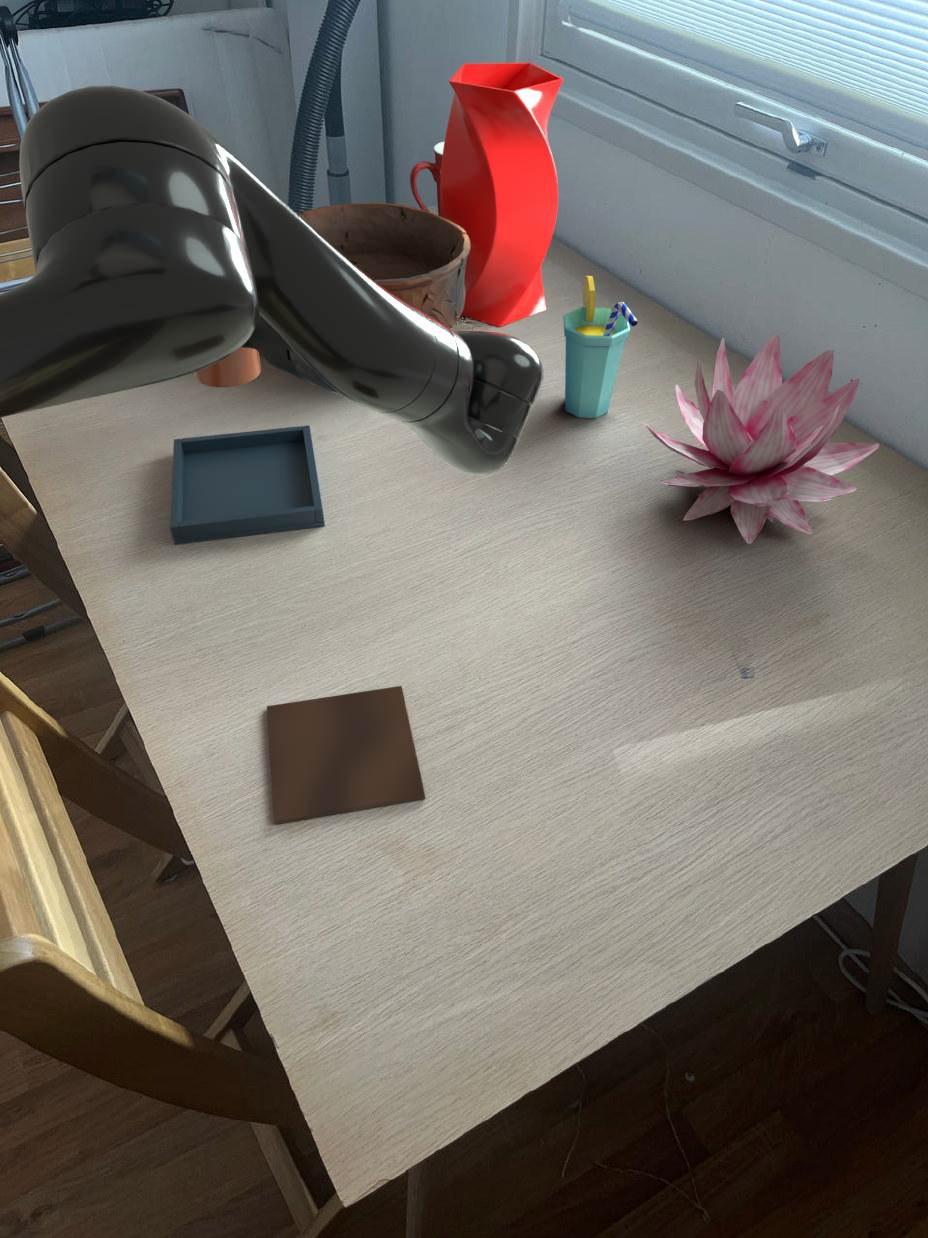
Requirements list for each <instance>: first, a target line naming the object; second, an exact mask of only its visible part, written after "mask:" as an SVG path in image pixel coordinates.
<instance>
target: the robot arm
mask: <svg viewBox="0 0 928 1238" xmlns="http://www.w3.org/2000/svg"><path fill="white" fill-rule="evenodd" d="M18 162H19V179H20V189H21V196H22V202H23V206H24V212H25V219H26V227H27V232H28V238H29V242H30V243H29V244H30V248H31V253H32V259H33V265H34V270H35V275H34V276H33V277H31V278H30V279H28V280H27V281H25V282H23V283H21V284H19V285H18V286H15V287H13V288H11V289H8V290H7V291H4V292H1V293H0V418H1V419H2V418H6V417H10V416H14V415H19V414H23V413H28V412H32V411H36V410H43V409H46V408H51V407H55V406H60V405H64V404H69V403H73V402H78V401H82V400H83V401H84V400H88V399H92V398H96V397H100V396H102V397H103V396H106V395H110V394H115V393H120V392H124V391H128V390H133V389H138V388H142V387H145V386H146V387H147V386H150V385H155V384H158V383H163V382H165V381H170V380H173V379H176V378H180V377H184V376H187V375H191V374H194V372H196V371H199V370H202V369H204V368H206V367H209V366H211V365H213V364H215V363H217V362H219V361H221V360H223V359H224V358H226V357H228V356H229V355H231V354H233V353H234V352H236V351H237V350H238V349H239V348H240V347H243V348H252V349H256V350H257V351H258V352H259V353H260V354H259V355H261V356H262V357H263V359H264V360H265V361H266V362H267V363H268V364H269V365H270V366H271V367H273V368H275V369H277V370H278V371H281V372H284V373H286V374H288V375H291V376H293V377H294V378H297V379H299V380H302V381H304V382H307V383H309V384H311V385H313V386H316V387H318V388H320V389H323V390H325V391H328V392H329V393H333V394H337V395H341V396H344V397H345V398H347V399H348V400H350V401H351V402H354V403H355V404H357V405H359V406H361V407H364V408H366V409H369V410H371V411H373V412H376V413H378V414H380V415H383V416H386V417H388V418H391V419H394V420H395V421H398V422H400V423H402V424H405V425H407V426H408V427H409V428H410V429H411V430H412V431H413V432H414V433H415V434H416V435H417V436H418V437H419V439H420V440H421V442H423V443H424V445H426V446H427V448H428V449H429V450H430V451H431V452H433V453H434V454H435V456H437V457H438V458H439V459H440V460H441V461H443V462H444V463H445V464H447V465H449V466H450V467H451V468H453V469H456V470H457V471H460V472H462V473H464V474H469V475H472V476H485V475H490V474H493V473H495V472H498V471H499V470H501V469H502V468H503V467H505V466H506V465H507V463H508V462H509V461H510V459H511V458H512V456H513V454H514V452H515V450H516V447H517V445H518V443H519V439H520V437H521V435H522V432H523V430H524V428H525V427H526V426H525V425H526V423H527V420H528V418H529V416H530V413H531V412H532V409H533V406H534V404H535V402H536V400H537V398H538V395H539V392H540V390H541V387H542V384H543V381H544V367H543V364H542V362H541V358H540V357H539V356H538V354H537V353H536V351H535V350H534V349H533V348H532V347H531V346H530V345H529V344H527V343H526V342H525V341H523V340H522V339H519V338H518V337H515V336H512V335H509V334H506V333H502V332H497V331H496V332H495V331H485V330H484V331H482V330H473V331H472V330H466V331H463V330H459V331H456V330H455V331H454V330H453V329H452V328H451V329H450V328H449V327H447V326H445V325H444V324H442V323H440V322H439V321H437V320H436V319H434V318H432V317H431V316H429V315H427V314H426V313H424V312H422V311H421V310H419V309H417V308H416V307H414V306H412V305H411V304H409V303H407V302H406V301H404V300H402V299H401V298H399V297H398V296H396V295H395V294H393V293H392V292H390V291H389V290H387V289H386V288H384V287H383V286H381V285H380V284H379V283H377V282H376V281H374V280H373V279H372V278H370V277H369V276H368V275H367V274H365V273H364V272H363V271H362V270H360V269H359V268H358V267H357V266H356V265H354V264H353V263H352V262H351V261H350V260H348V259H347V258H346V257H345V256H344V255H342V254H341V253H340V252H339V251H338V250H337V249H335V248H334V247H333V246H332V245H331V244H330V243H329V242H328V241H326V240H325V239H324V238H323V237H322V236H321V235H320V234H319V233H317V232H316V231H315V230H314V229H313V228H312V227H311V226H310V225H309V224H307V223H306V222H305V221H304V220H303V219H302V218H301V217H300V216H299V215H298V214H297V213H298V212H296V211H295V210H294V209H292V208H291V207H290V206H289V205H288V204H287V203H286V202H285V201H284V200H283V199H281V197H279V195H277V194H276V193H275V192H273V190H271V189H270V188H269V187H268V186H267V185H266V184H265V183H264V182H263V181H262V180H261V179H260V178H259V177H258V176H257V175H255V173H253V171H252V170H251V169H250V168H249V167H248V166H246V164H245V163H243V162H242V161H241V159H239V157H238V156H236V154H235V153H233V152H232V151H231V149H229V148H228V147H227V146H226V145H225V144H224V143H223V142H222V141H220V139H218V138H217V136H215V135H214V134H213V133H212V132H211V131H210V130H208V129H207V128H206V127H205V126H204V125H202V124H201V123H200V122H199V121H198V120H197V119H195V118H193V117H192V116H191V115H190V114H189V113H187V112H186V111H184V110H183V109H181V108H180V107H179V106H177V105H174V104H172V103H171V102H169V101H167V100H165V99H164V98H161V97H159V96H156V95H153V94H150V93H148V92H146V91H143V90H138V89H135V88H129V87H123V86H118V85H89V86H84V87H80V88H76V89H72V90H69V91H66V92H65V93H62V94H60V95H58V96H56V97H54V98H52V99H50V100H49V101H48V102H46V103H45V104H44V105H42V106H41V107H40V108H39V109H38V110H36V111H35V113H34V114H33V115H32V116H31V118H30V119H29V121H28V122H27V124H26V126H25V128H24V131H23V133H22V137H21V141H20V146H19V161H18Z"/></svg>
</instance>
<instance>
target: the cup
mask: <svg viewBox="0 0 928 1238" xmlns="http://www.w3.org/2000/svg"><path fill="white" fill-rule="evenodd" d="M583 279H584V281H583V288H582V307H580V308H577V309H574V310H572V311H570V312H568V313H566V314H564V315H563V317H562V319H563V333H564V337H565V356H564V357H565V359H564V360H565V363H564V364H565V367H564V368H565V369H564V370H565V372H564V373H565V374H564V389H565V390H564V405H565V407H564V408H565V412H567V413H569V414H571V415H573V416H574V417H577V418H580V419H582V418H583V419H597V418H599V417H601V416H603V415H604V414H606V413H608V412H609V407H610V404H611V399H612V396H613V391H614V387H615V383H616V379H617V374H618V372H619V371H618V370H619V366H620V362H621V359H622V355H623V350H624V347H625V341H626V340H627V339H628V338H629V337H630V332H631V327H635V326H637V325H638V323H639V322H638V319H637V318H636V316H635V315H634V314H633V312H632V310H630V308H629V307H628V305H627V303H626V302H624V301H618V302H617V303H616V304H615V305H614V306H613V307H612V309H611V308H609V307H596V289H595V283H594V282H595V281H594V276H592V275H586V276H584V278H583Z"/></svg>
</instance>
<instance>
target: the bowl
mask: <svg viewBox="0 0 928 1238" xmlns="http://www.w3.org/2000/svg"><path fill="white" fill-rule="evenodd" d="M296 213H297V214H298V215H299V216H300V217H301V218H302V219H303V220H304V221H305V222H306V223H307V224H309V225H310V226H311V227H312V228H313V229H314V230H315V231H316V232H317V233H319V234H320V235H321V236H322V237H323V238H324V239H325V240H326V241H328V242H329V243H330V244H331V245H332V246H333V247H334V248H335V249H337V250H338V251H339V252H340V253H341V254H342V255H344V256H345V257H346V258H347V259H348V260H350V261H351V262H352V263H353V264H354V265H356V266H357V267H358V268H359V269H360V270H362V271H363V272H364V273H365V274H367V275H368V276H369V277H370V278H372V279H373V280H374V281H376V282H377V283H379V284H380V285H381V286H383V287H384V288H386V289H387V290H389V291H390V292H392V293H393V294H395V295H396V296H398V297H399V298H401V299H402V300H404V301H406V302H407V303H409V304H411V305H412V306H414V307H416V308H417V309H419V310H421V311H422V312H424V313H426V314H427V315H429V316H431V317H432V318H434V319H436V320H437V321H439V322H440V323H442V324H444V325H445V326H447V327H449V328H450V329H452V328H453V327H454V326H455V325H456V324H457V323H458V321H459V320H460V318H461V316H462V315H461V313H462V311H463V310H464V304H465V293H466V291H465V285H464V274H465V267H466V260H467V257H468V254H469V251H470V239H469V237H468V235H467V233H466V231H465V230H464V229H463V228H461V227H460V226H459V225H457V224H454V223H453V222H452V221H450V220H447V219H445V218H443V217H440V216H438V214H435V213H433V212H431V211H430V212H428V211H425V210H421V208H418V207H413V206H407V205H403V204H395V203H387V202H346V203H339V204H333V205H327V206H321V207H317V208H312V209H307V210H306V209H305V210H302V211H301V212H296Z"/></svg>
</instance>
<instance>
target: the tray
mask: <svg viewBox="0 0 928 1238" xmlns="http://www.w3.org/2000/svg"><path fill="white" fill-rule="evenodd" d="M172 451H173V454H172V472H171V473H172V476H171V497H170V499H171V500H170V518H169V519H170V520H169V529H170V532H171V533H170V534H171V536H172V539H173V543H174V545H181V544H189V543H198V542H205V541H213V540H222V539H231V538H238V537H248V536H254V535H264V534H271V533H280V532H287V531H296V530H303V529H304V530H305V529H312V528H322V527H325V526H326V523H325V516H324V510H323V502H322V497H321V496H322V495H321V489H320V484H319V477H318V476H319V475H318V472H317V471H318V470H317V465H316V458H315V451H314V446H313V439H312V431H311V427H310V425H309V424H308V425H307V424H306V425H297V426H288V427H279V428H269V429H260V430H250V431H240V432H231V433H223V434H222V433H221V434H212V435H202V436H193V437H192V436H191V437H183V438H176V439H175V438H174V439H173V450H172Z"/></svg>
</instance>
